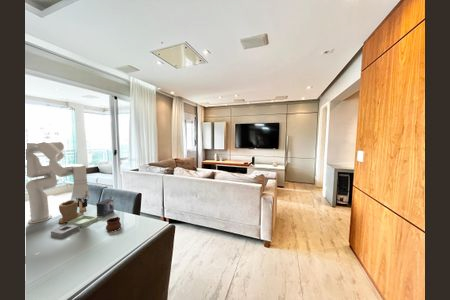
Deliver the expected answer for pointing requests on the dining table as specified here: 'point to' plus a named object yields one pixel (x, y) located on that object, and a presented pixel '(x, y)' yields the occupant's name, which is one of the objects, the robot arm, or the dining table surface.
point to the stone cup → (69, 211)
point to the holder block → (64, 231)
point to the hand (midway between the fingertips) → (82, 206)
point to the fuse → (81, 207)
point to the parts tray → (83, 220)
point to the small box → (105, 207)
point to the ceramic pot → (113, 224)
